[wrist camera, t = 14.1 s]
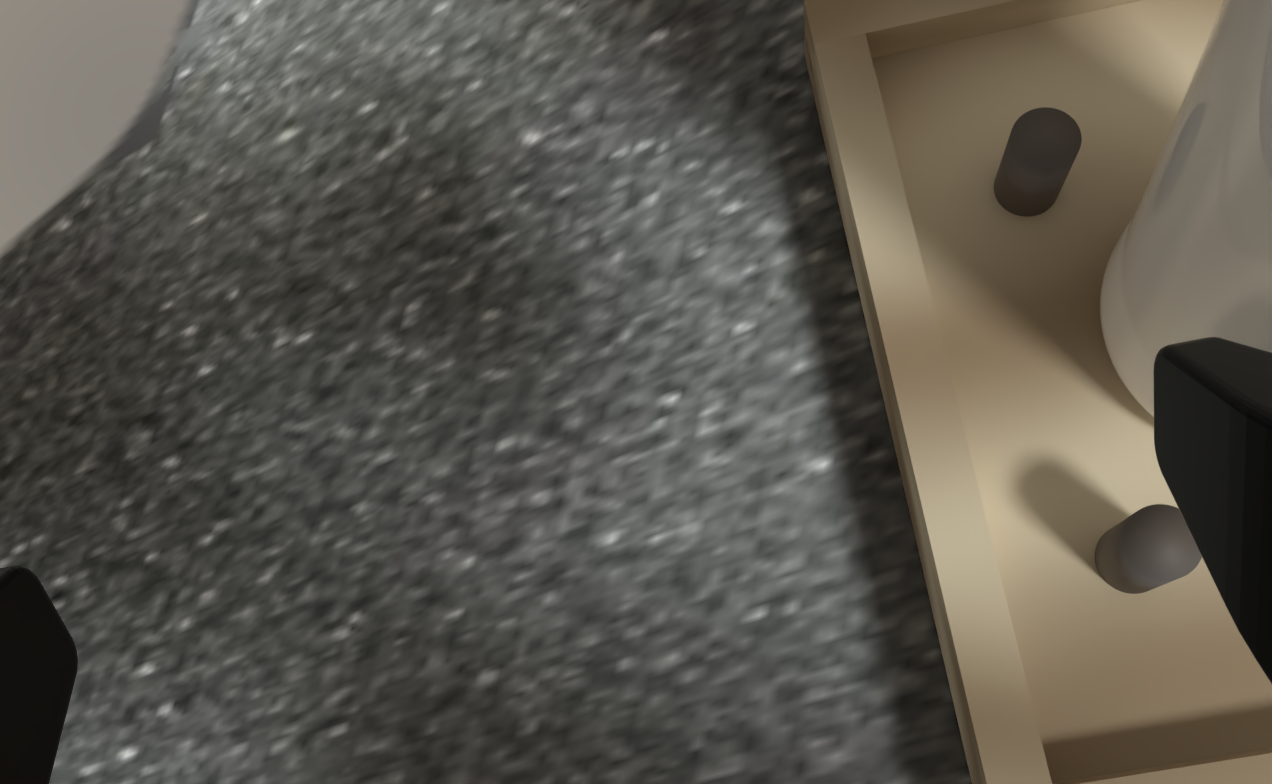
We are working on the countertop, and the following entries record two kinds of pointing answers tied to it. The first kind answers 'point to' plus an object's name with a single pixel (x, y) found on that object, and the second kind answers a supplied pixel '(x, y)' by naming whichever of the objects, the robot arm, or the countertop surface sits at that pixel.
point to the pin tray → (1032, 376)
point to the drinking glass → (1202, 213)
